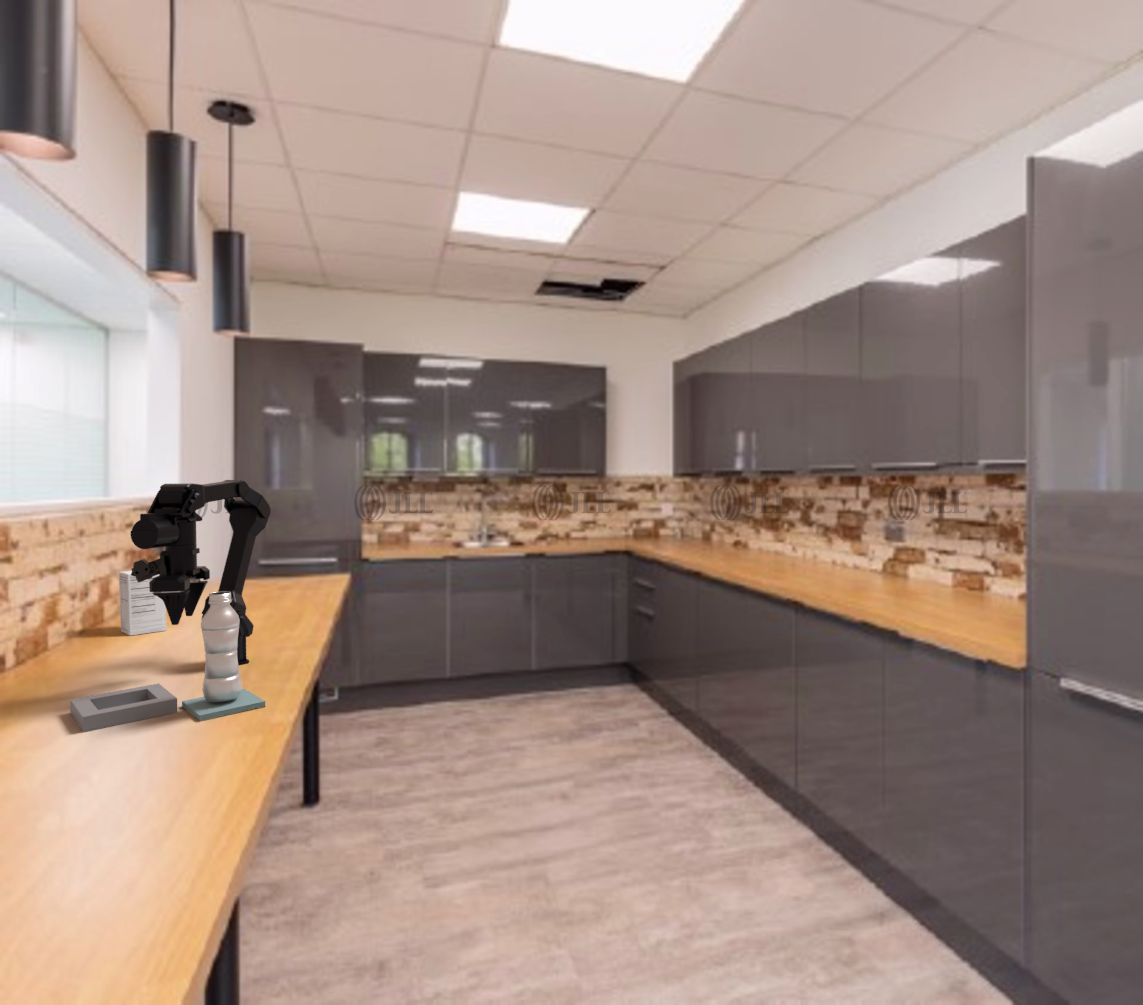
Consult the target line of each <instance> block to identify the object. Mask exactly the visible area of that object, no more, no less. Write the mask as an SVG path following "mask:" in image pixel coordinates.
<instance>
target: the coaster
mask: <svg viewBox="0 0 1143 1005" xmlns="http://www.w3.org/2000/svg"><path fill="white" fill-rule="evenodd" d="M182 706H183V707H184V708H183V707H182ZM264 706H265V707H266V700H264V699H262V698H260V697H259V696H257V695H256V694H254V693H253V692H251V691H249V690H247V689H246V688H241V693H240V694H239V696H238V697H237V698H235V699H233V700H230V701H225V702H208V701H207V700H206V699H205V698H204V696H202V697H201V696H200V697H196V698H192V699H186V700H182V701H181V707H182V708H183V709H185V710H186V711H187V710H188V711H189V712H190V714H191V715H192V716H193V717H194V718H195V717H196V718H195V719H196V720H198V721H199V722H202V721H201V720H203V721H207V720H206V719H208V720H211V718H212V719H216V718H215V717H217V718H220V716H221V717H225V715H226V716H229V715H233V714H234V713H235V714H239V713H243V712H242V711H244V712H247V711H246V710H248V711H252V710H251V709H253V710H256V709H255V708H257V709H260V708H259V707H262V708H265V707H264ZM188 711H187V712H188ZM189 712H188V713H189ZM238 712H239V713H238ZM235 714H234V715H235Z"/></svg>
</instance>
